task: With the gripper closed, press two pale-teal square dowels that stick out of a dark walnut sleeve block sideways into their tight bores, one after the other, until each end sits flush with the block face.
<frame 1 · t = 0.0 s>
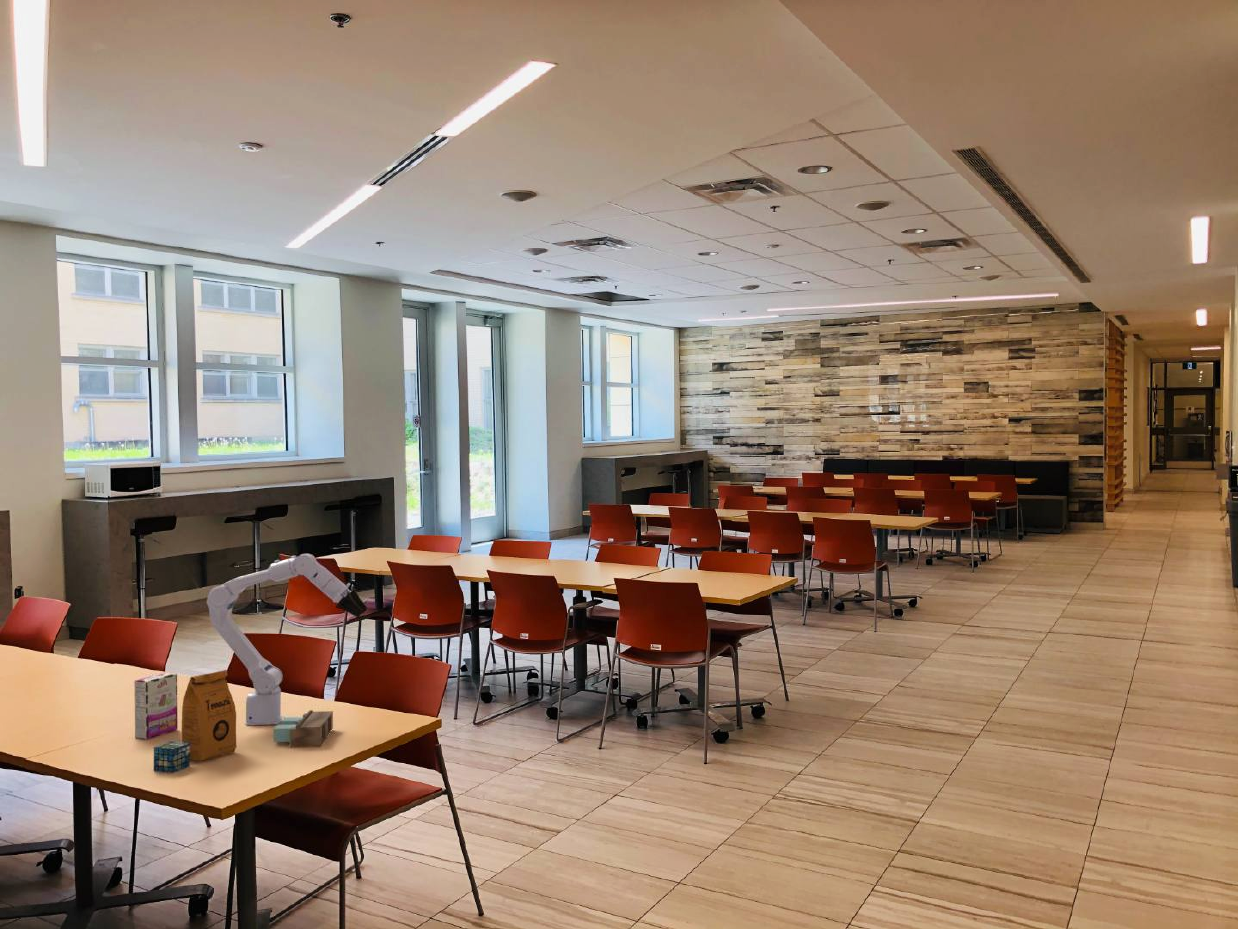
hand: (363, 613, 290), 32 cm above the table, tool tilted 50°, fingers open, 7 cm apart
puzzle: (171, 769, 242), on the table
peg near: (290, 733, 265), point 3 cm above the table, slide at 0.0 cm
candy bar box: (156, 734, 274), on the table
sleeve block: (312, 738, 270), on the table
peg far: (297, 725, 273), point 3 cm above the table, slide at 0.0 cm
coffee package: (209, 757, 253), on the table
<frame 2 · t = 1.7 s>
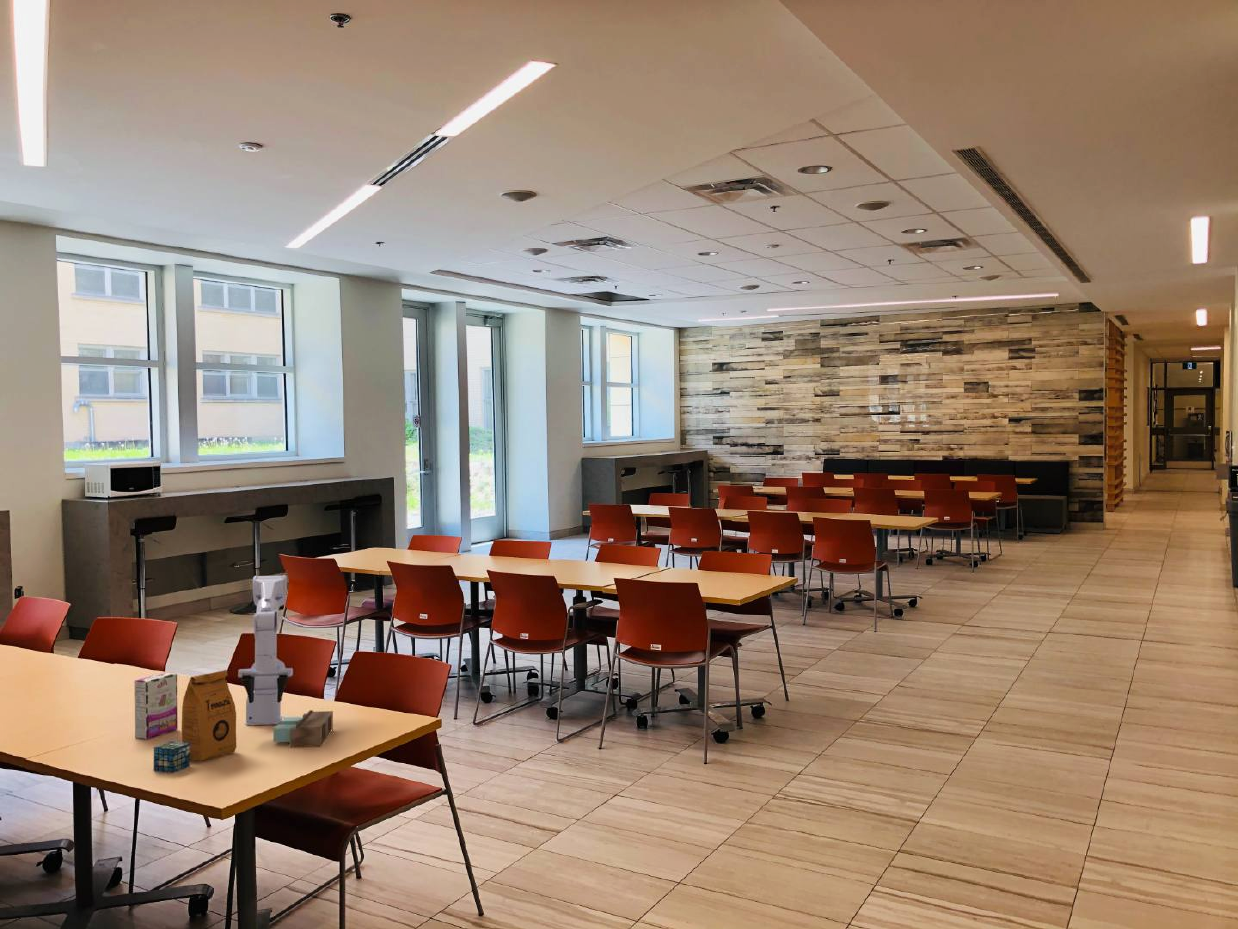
hand: (265, 702, 273), 10 cm above the table, tool pointing down, fingers open, 7 cm apart
nothing on the table moved.
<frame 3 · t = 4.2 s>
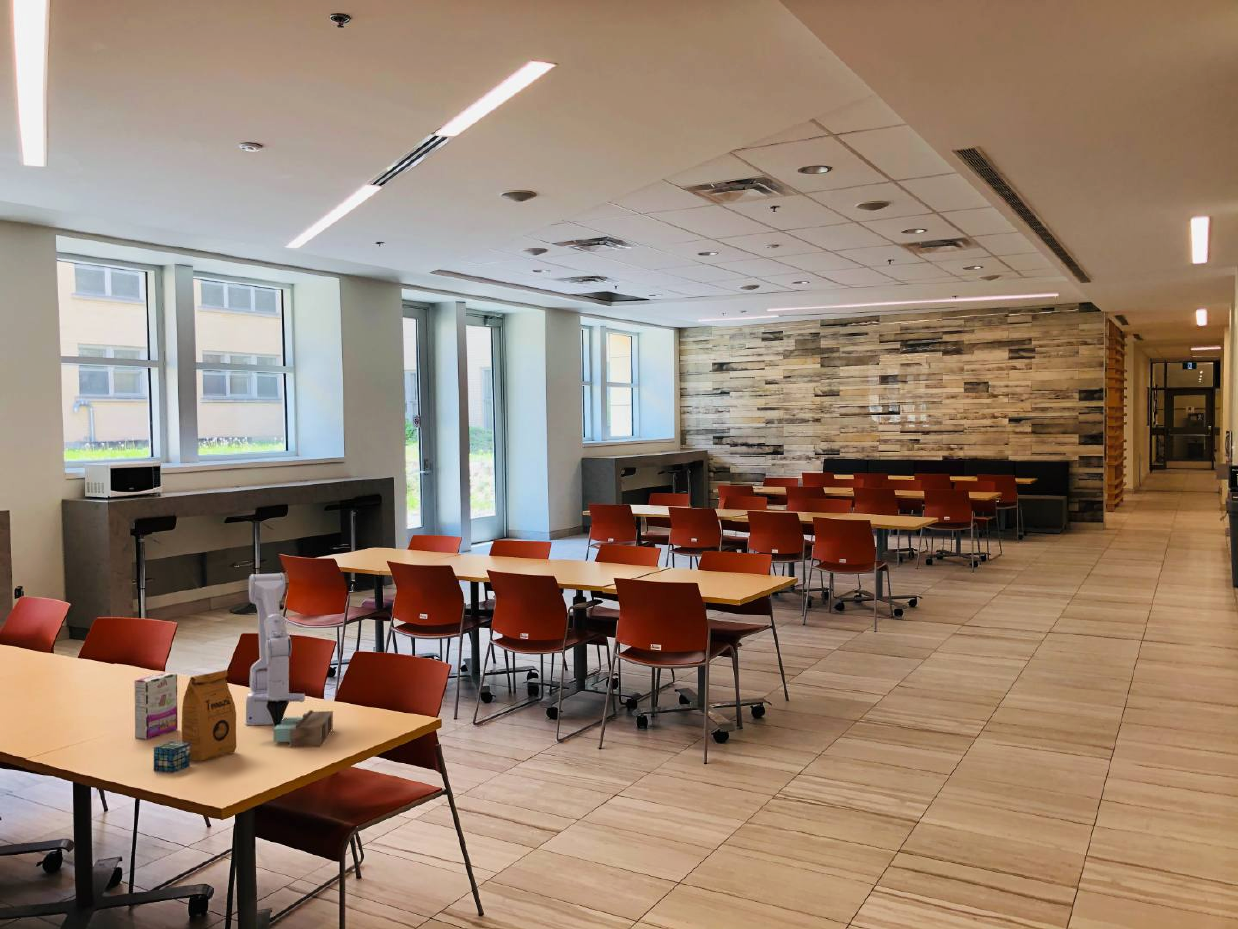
hand: (277, 727, 273), 2 cm above the table, tool pointing down, fingers closed
peg far: (297, 725, 273), point 3 cm above the table, slide at 0.0 cm, touching gripper
everything else where it was.
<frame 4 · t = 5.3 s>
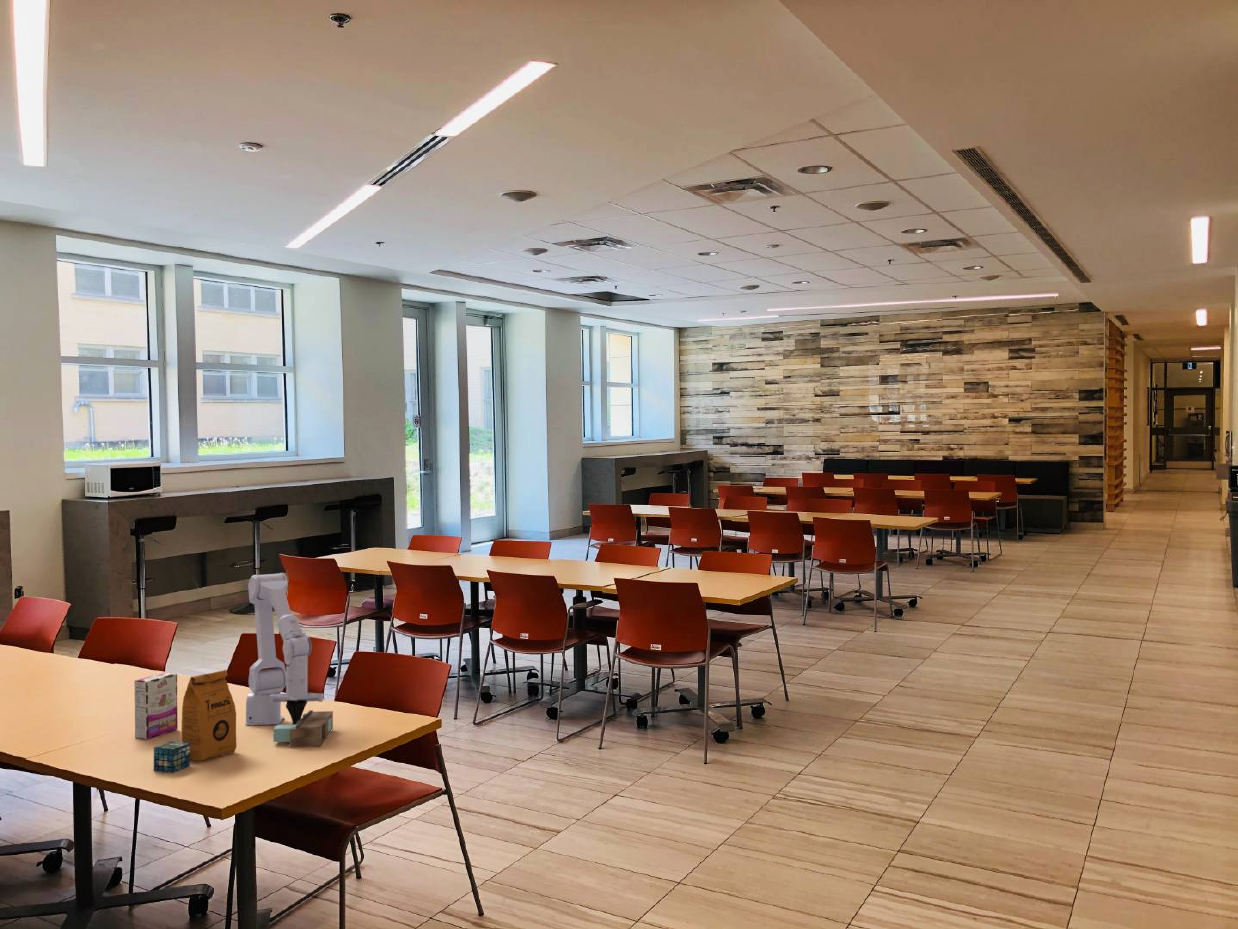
hand: (296, 727, 273), 2 cm above the table, tool pointing down, fingers closed
peg far: (315, 725, 274), point 3 cm above the table, slide at 5.0 cm, touching gripper
everything else where it was.
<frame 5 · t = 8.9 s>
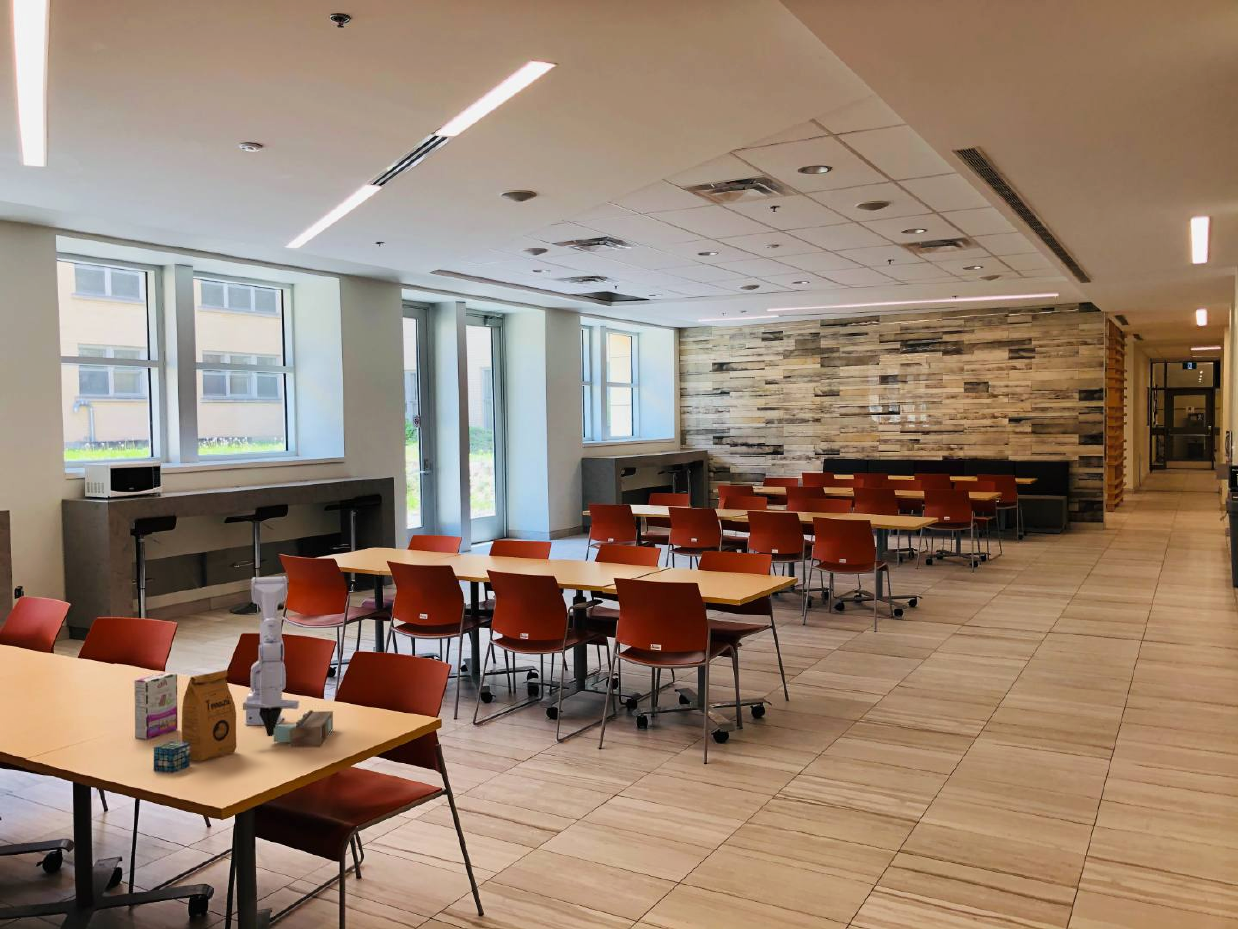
hand: (270, 735, 265), 2 cm above the table, tool pointing down, fingers closed
peg near: (290, 733, 266), point 3 cm above the table, slide at 0.1 cm, touching gripper
peg far: (315, 725, 274), point 3 cm above the table, slide at 5.1 cm
everything else where it was.
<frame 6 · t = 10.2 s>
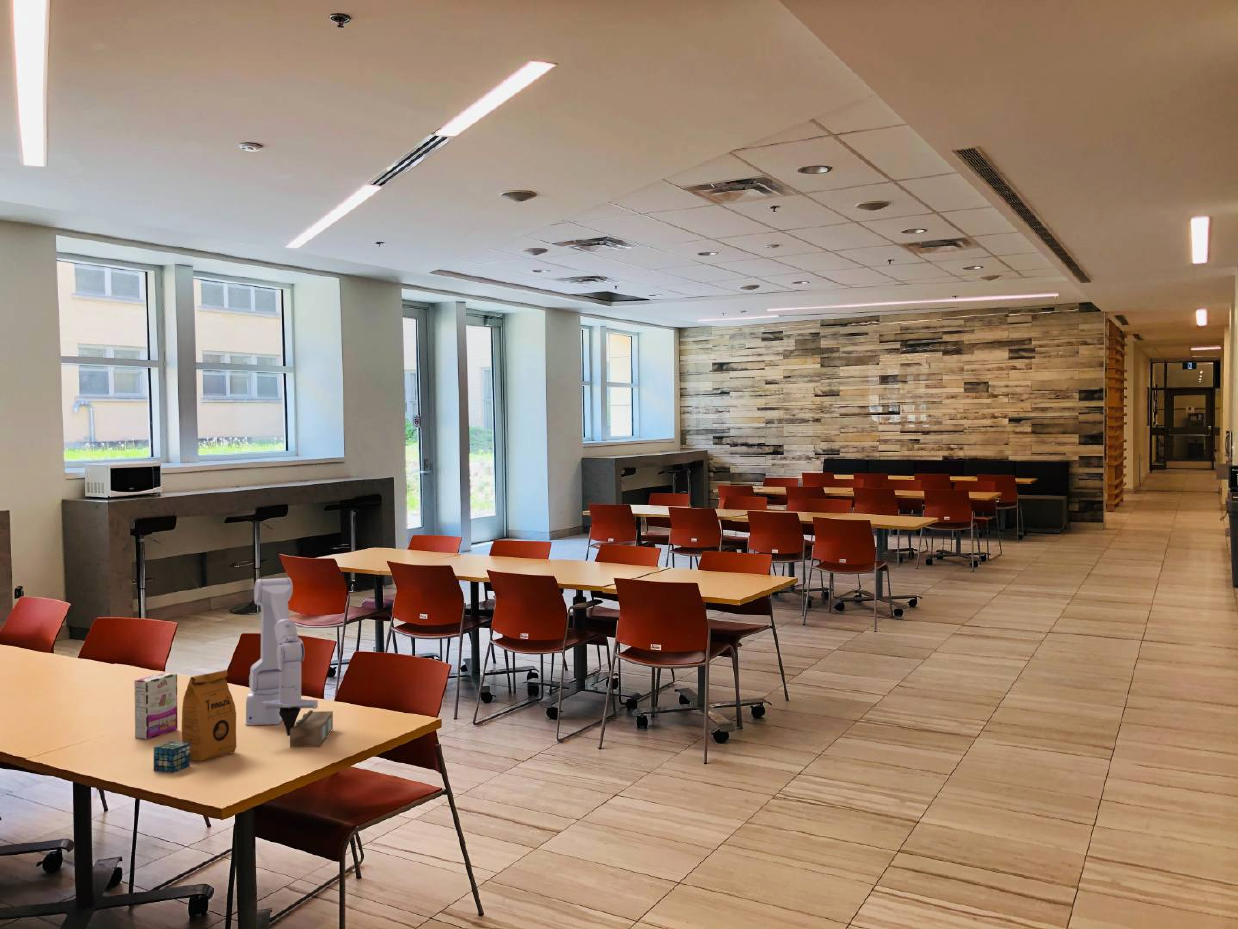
hand: (290, 735, 265), 2 cm above the table, tool pointing down, fingers closed
peg near: (309, 732, 266), point 3 cm above the table, slide at 5.1 cm, touching gripper
everything else where it was.
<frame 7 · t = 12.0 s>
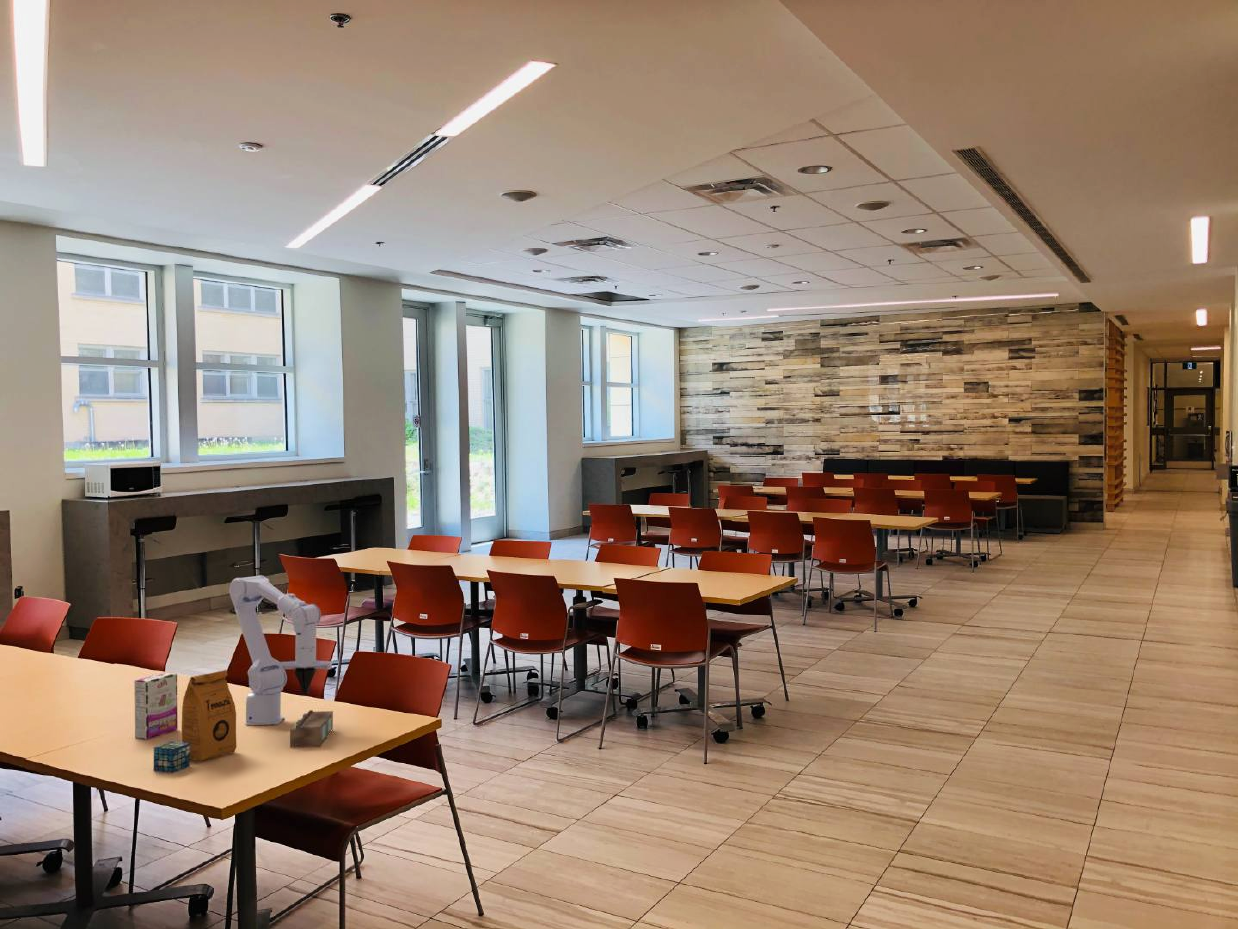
hand: (305, 694, 280), 10 cm above the table, tool pointing down, fingers closed
peg near: (309, 732, 266), point 3 cm above the table, slide at 5.1 cm
everything else where it was.
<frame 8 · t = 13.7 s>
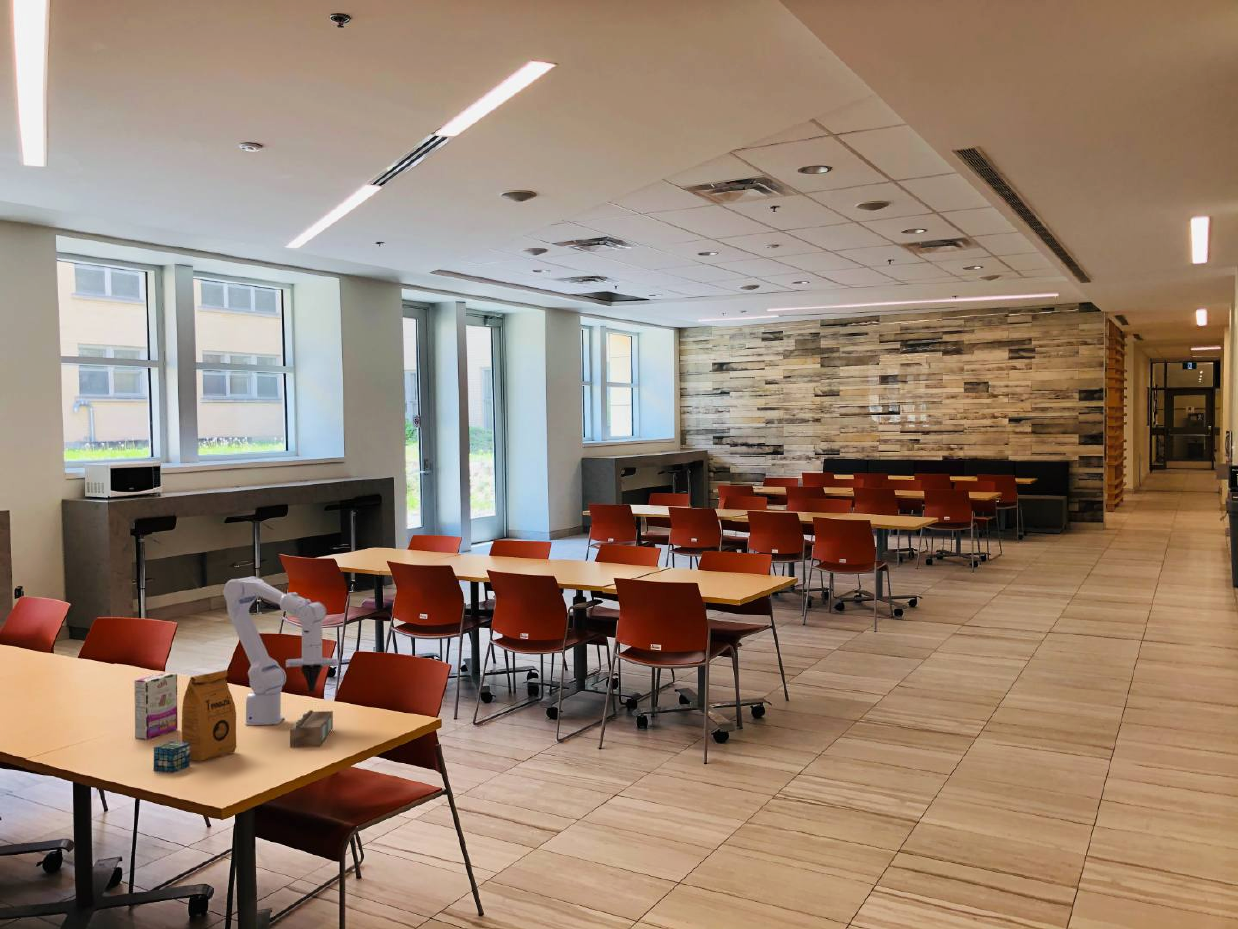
hand: (312, 690, 283), 10 cm above the table, tool pointing down, fingers closed
nothing on the table moved.
at the end: peg far slide at 5.1 cm; peg near slide at 5.1 cm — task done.
